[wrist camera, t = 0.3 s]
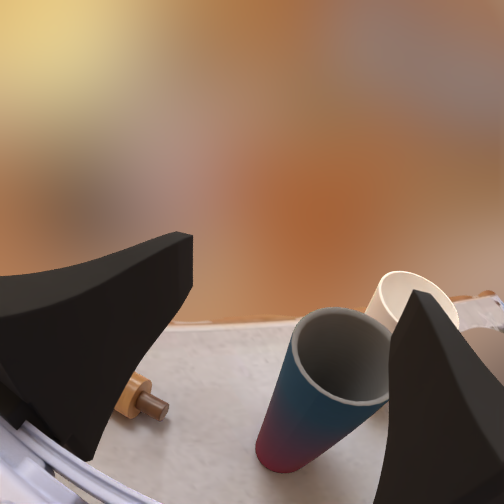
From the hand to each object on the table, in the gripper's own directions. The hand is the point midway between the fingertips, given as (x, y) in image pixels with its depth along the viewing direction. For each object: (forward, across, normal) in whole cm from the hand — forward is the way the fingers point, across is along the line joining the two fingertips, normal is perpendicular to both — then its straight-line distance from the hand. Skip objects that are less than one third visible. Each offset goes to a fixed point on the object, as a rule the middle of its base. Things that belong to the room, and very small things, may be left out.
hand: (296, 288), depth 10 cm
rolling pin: (+4, +14, +20) cm, 24 cm away
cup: (+5, -2, +21) cm, 22 cm away
